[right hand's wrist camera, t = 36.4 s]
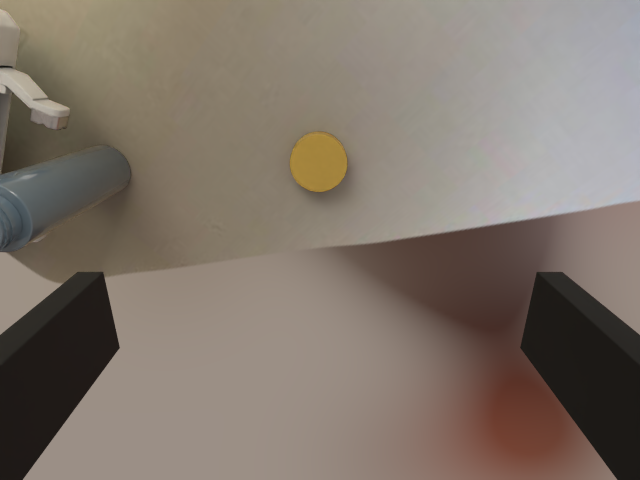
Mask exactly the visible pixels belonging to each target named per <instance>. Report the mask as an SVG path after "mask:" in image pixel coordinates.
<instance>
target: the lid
mask: <svg viewBox="0 0 640 480" xmlns="http://www.w3.org/2000/svg"><path fill="white" fill-rule="evenodd" d="M290 169H291V173H292V175H293V177H294V179H295V180H296V181H297V183H298V184H299V185H301V186H302V187H303V188H305V189H307V190H310V191H314V192H323V191H327V190H330V189H332V188H334V187H335V186H337V185H338V184H339V183H340V182H341V181H342V179H343V178H344V176H345V174H346V170H347V156H346V153H345V150H344V147H343V145H342V144H341V142H340V141H339V140H338V139H337V138H336V137H334V136H333V135H331V134H329V133H326V132H312V133H309V134H306V135H305V136H303V137H302V138H300V139H299V140H298V142H297V143H296V144H295V146H294V148H293V151H292V154H291V157H290Z"/></svg>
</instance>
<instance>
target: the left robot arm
mask: <svg viewBox="0 0 640 480" xmlns="http://www.w3.org/2000/svg"><path fill="white" fill-rule="evenodd" d="M19 40H20V28H19V27H18V25H17V24H16V22H15V21H14V20H13V18H12V17H11V16H10V15H9V13H8V12H6V11H5V10H2V9H0V175H1V172H2V165H3V157H4V150H5V142H6V135H7V128H8V120H9V113H10V105H11V98H12V93H14V94H15V95H16V96H17V97H18V98H19V99H20V100H21V101H23V102H24V103H25V104H26V105H27V106H28V107H29V108H30V109H31V117H30V121H32V122H35V123H37V124H44V125H45V126H46V127H47V128H50V129H54V130H61V129H62V128H63V129H65V128H67V123H68V118H69V114H70V109H69V108H68V107H66V106H63V105H61V104H58V103H56V102H54V101H51V100H49V99H48V97H47V95H46V94H45V93H44V92H43V91H42V90H41V89H40V88H39V86H38V85H37V84H36V83H35V82H34V81H33V80H32V79H31V78H30V76H29V75H27V74H25V73H22V72H20V71H17V70H15V68H16V61H17V54H18V46H19ZM46 236H47V234H45V235H43V236H42V237H40V238H38V239H36V240H35V241H33V242H39V241H40V240H42V239H44V238H45V237H46Z"/></svg>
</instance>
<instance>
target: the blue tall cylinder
mask: <svg viewBox="0 0 640 480" xmlns="http://www.w3.org/2000/svg"><path fill="white" fill-rule="evenodd" d="M129 180H130V167H129V164H128V162H127V160H126V158H125V157H124V156H123V155H122V154H121V153H120V152H119V151H118V150H116V149H114V148H113V147H110V146H107V145H95V146H92V147H88V148H85V149H82V150H79V151H75V152H72V153H69V154H66V155H62V156H59V157H56V158H53V159H50V160H46V161H43V162H40V163H37V164H33V165H30V166H27V167H24V168H20V169H17V170H14V171H11V172H7V173H4V174H1V175H0V252H12V251H16V250H19V249H21V248H23V247H24V246H26V245H28V244H29V243H31V242H33V241H35V240H36V239H38V238H40V237H42V236H43V235H45V234H47V233H49V232H50V231H52V230H54V229H55V228H57V227H59V226H61V225H62V224H64V223H66V222H68V221H69V220H71V219H73V218H75V217H76V216H78V215H80V214H81V213H83V212H85V211H87V210H88V209H90V208H92V207H94V206H95V205H97V204H99V203H101V202H102V201H104V200H106V199H107V198H109V197H111V196H113V195H114V194H116V193H118V192H120V191H121V190H123V189H124V188H125V187H126V186H127V184H128V183H129Z"/></svg>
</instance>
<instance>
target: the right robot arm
mask: <svg viewBox="0 0 640 480" xmlns="http://www.w3.org/2000/svg"><path fill="white" fill-rule="evenodd" d="M119 348H120V347H119V342H118V338H117V333H116V329H115V324H114V320H113V315H112V310H111V306H110V301H109V297H108V292H107V288H106V283H105V278H104V274H103V272H77V273H76V274H75V275H74V276H72V277H71V278H70V279H69V280H67V281H66V282H65V283H64V284H62V285H61V286H60V287H59V288H58V289H56V290H55V291H54V292H53V293H51V294H50V295H49V296H48V297H46V298H45V299H44V300H43V301H42V302H40V303H39V304H38V305H37V306H35V307H34V308H33V309H32V310H31V311H29V312H28V313H27V314H26V315H24V316H23V317H22V318H21V319H19V320H18V321H17V322H16V323H14V324H13V325H12V326H11V327H10V328H8V329H7V330H6V331H5V332H3V333H2V334H1V335H0V480H23V478H24V477H25V476H26V474H27V473H28V472H29V470H30V469H31V468H32V466H33V465H34V463H35V462H36V461H37V459H38V458H39V457H40V455H41V454H42V453H43V451H44V450H45V449H46V447H47V446H48V444H49V443H50V442H51V440H52V439H53V438H54V436H55V435H56V433H57V432H58V431H59V429H60V428H61V427H62V425H63V424H64V423H65V421H66V420H67V419H68V417H69V416H70V414H71V413H72V412H73V410H74V409H75V408H76V406H77V405H78V404H79V402H80V401H81V400H82V398H83V397H84V395H85V394H86V393H87V391H88V390H89V389H90V387H91V386H92V385H93V383H94V382H95V381H96V379H97V378H98V376H99V375H100V374H101V372H102V371H103V370H104V368H105V367H106V366H107V364H108V363H109V361H110V360H111V359H112V357H113V356H114V355H115V353H116V352H117V351H118V349H119ZM520 348H521V349H522V351H523V352H524V353H525V355H526V356H527V357H528V359H529V360H530V362H531V363H532V364H533V366H534V367H535V368H536V370H537V371H538V372H539V374H540V375H541V376H542V378H543V379H544V381H545V382H546V383H547V385H548V386H549V387H550V389H551V390H552V391H553V393H554V394H555V395H556V397H557V398H558V400H559V401H560V402H561V404H562V405H563V406H564V408H565V409H566V410H567V412H568V413H569V415H570V416H571V417H572V419H573V420H574V421H575V423H576V424H577V425H578V427H579V428H580V429H581V431H582V432H583V434H584V435H585V436H586V438H587V439H588V440H589V442H590V443H591V444H592V446H593V447H594V448H595V450H596V451H597V453H598V454H599V455H600V457H601V458H602V459H603V461H604V462H605V463H606V465H607V466H608V468H609V469H610V470H611V471H612V473H613V474H614V476H615V477H616V478H617V480H640V335H639V334H638V333H637V332H635V331H634V330H633V329H632V328H630V327H629V326H628V325H627V324H626V323H624V322H623V321H622V320H621V319H619V318H618V317H617V316H616V315H614V314H613V313H612V312H611V311H610V310H608V309H607V308H606V307H605V306H603V305H602V304H601V303H600V302H598V301H597V300H596V299H595V298H594V297H592V296H591V295H590V294H589V293H587V292H586V291H585V290H584V289H582V288H581V287H580V286H579V285H577V284H576V283H575V282H574V281H573V280H571V279H570V278H569V277H568V276H566V275H565V274H564V273H563V272H537V274H536V278H535V283H534V288H533V292H532V297H531V301H530V306H529V310H528V315H527V320H526V324H525V329H524V333H523V338H522V343H521V347H520Z"/></svg>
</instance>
